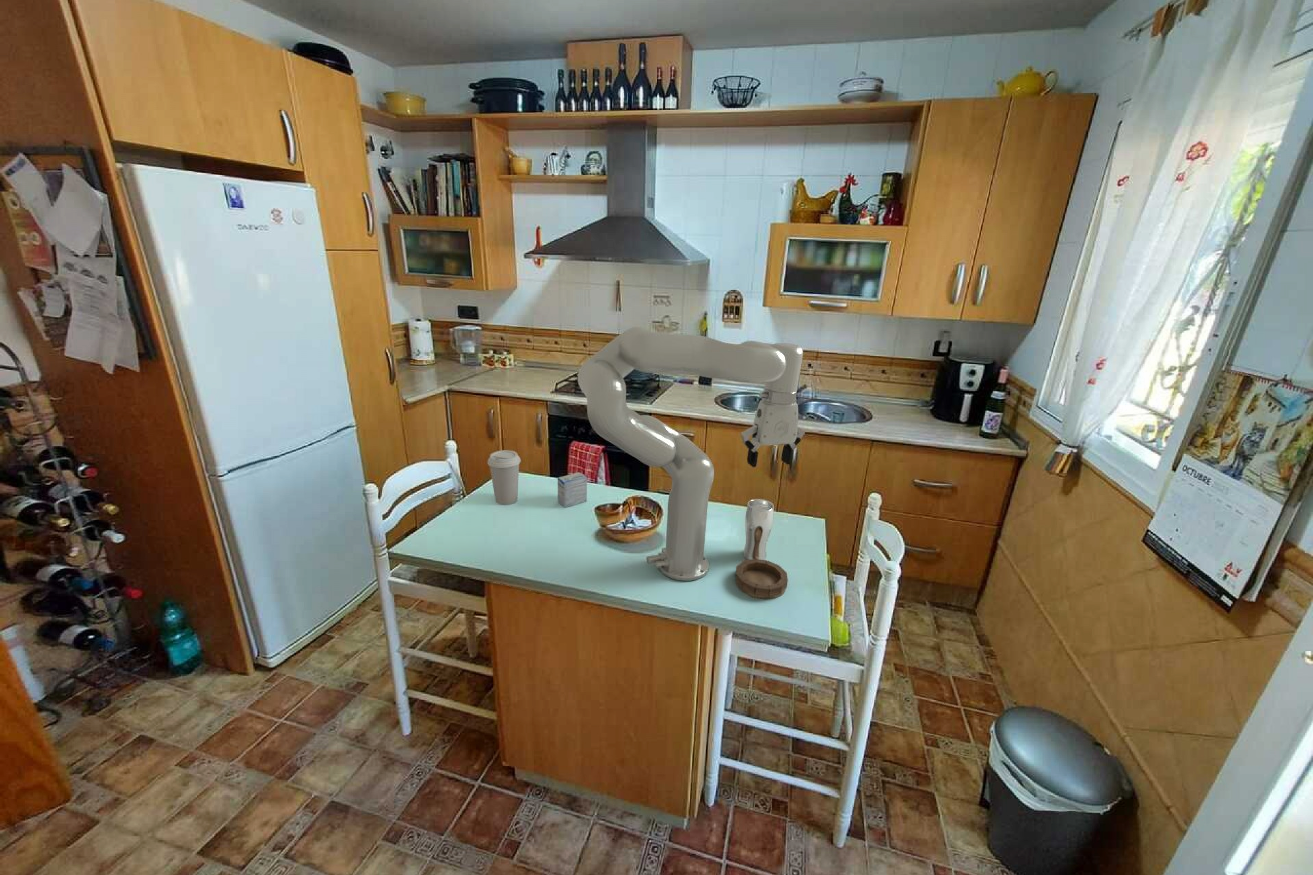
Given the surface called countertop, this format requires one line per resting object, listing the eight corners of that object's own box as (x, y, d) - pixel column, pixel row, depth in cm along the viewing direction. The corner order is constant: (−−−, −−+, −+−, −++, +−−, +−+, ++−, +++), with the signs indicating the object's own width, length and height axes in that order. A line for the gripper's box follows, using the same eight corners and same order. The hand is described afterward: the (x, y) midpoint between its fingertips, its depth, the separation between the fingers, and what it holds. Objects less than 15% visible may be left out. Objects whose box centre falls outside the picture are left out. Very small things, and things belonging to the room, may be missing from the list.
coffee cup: (484, 500, 158) (480, 454, 153) (510, 490, 165) (508, 446, 160) (502, 510, 153) (499, 463, 148) (528, 500, 160) (526, 455, 155)
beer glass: (767, 564, 132) (775, 512, 127) (740, 560, 133) (746, 509, 128) (767, 550, 138) (774, 500, 133) (741, 546, 140) (747, 496, 134)
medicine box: (579, 496, 164) (579, 471, 161) (587, 501, 160) (587, 476, 157) (557, 503, 159) (557, 477, 156) (565, 508, 156) (564, 482, 153)
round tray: (751, 603, 117) (753, 593, 116) (726, 573, 127) (727, 563, 127) (796, 593, 121) (797, 583, 120) (768, 565, 132) (769, 555, 131)
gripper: (755, 402, 115) (745, 472, 121) (819, 400, 121) (807, 467, 127) (739, 393, 122) (730, 460, 128) (800, 392, 128) (789, 456, 133)
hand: (768, 463), depth 127 cm, fingers open, 9 cm apart
